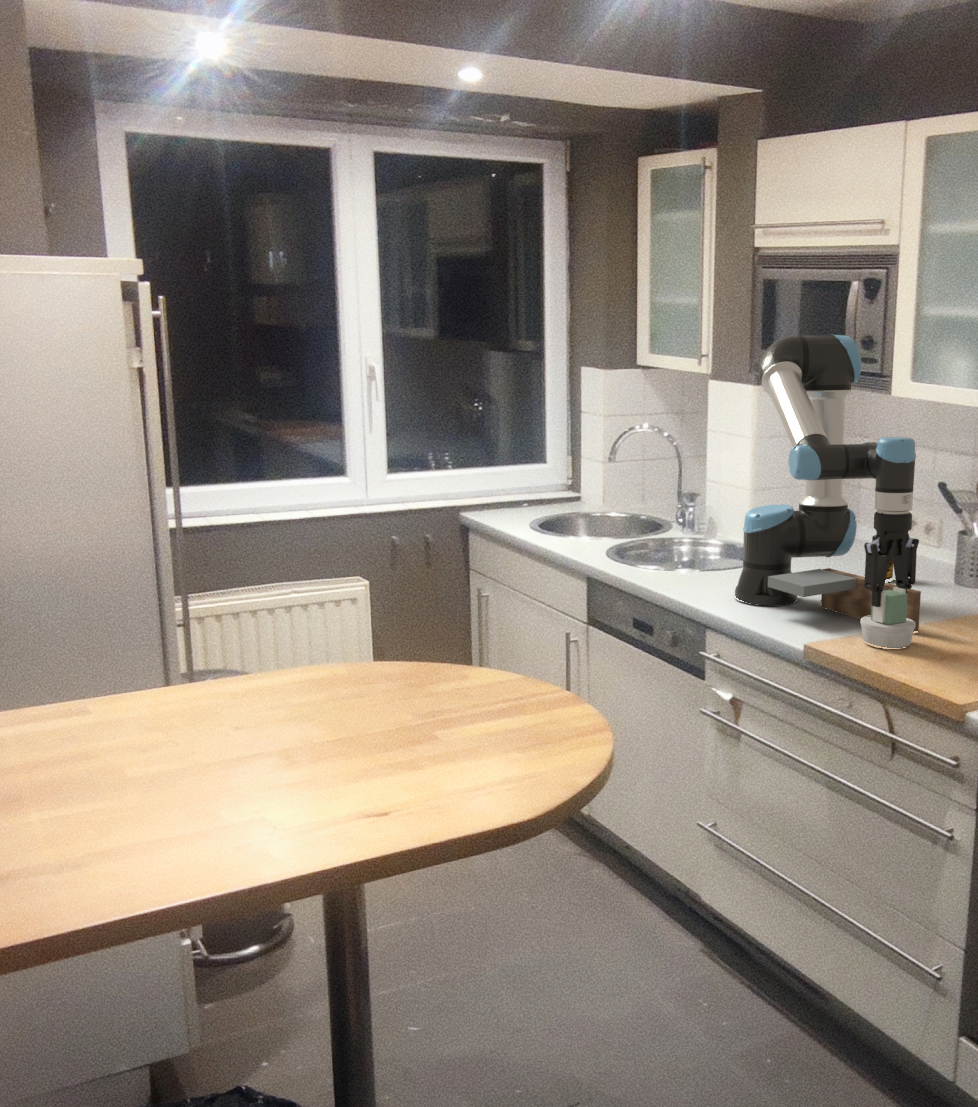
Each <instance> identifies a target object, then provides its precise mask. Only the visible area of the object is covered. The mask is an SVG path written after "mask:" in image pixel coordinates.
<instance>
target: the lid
mask: <svg viewBox="0 0 978 1107" xmlns="http://www.w3.org/2000/svg"><path fill="white" fill-rule="evenodd" d="M856 585H857V578H853V577H850V576H846V575H842V574H838V573H834V572H830V571H826V570H823V568H817V569H809V570H804V571H796V572H792V573H788V574H781V575H775V576H768V587H770V588H773V589H777V590H780V591H784V592H787V593H790V594H794V595H797V597H802V598H808V597H814V596H819V595H821V596H822V594H827V593H834V592H840V591H846V590H852V589H856Z"/></svg>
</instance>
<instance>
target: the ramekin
mask: <svg viewBox="0 0 978 1107" xmlns="http://www.w3.org/2000/svg"><path fill="white" fill-rule="evenodd" d="M860 626H861V633H862V640H864V641H866V642H867V643H870V644H873V645H877V646H881V647H887V648H903V647H907V646H908V647H909V646H910V645H911V643H912V641H913V635H914V634H913V632H914V628H915V626H916V623H915V622H914V621H913V620H911V619H908V618H906V622H901V623H895V624H885V623H881V622H877V621H873V620H871V615H868V616H864V617H862V618H861V619H860ZM864 641H863V642H864ZM908 647H907V648H908Z"/></svg>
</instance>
